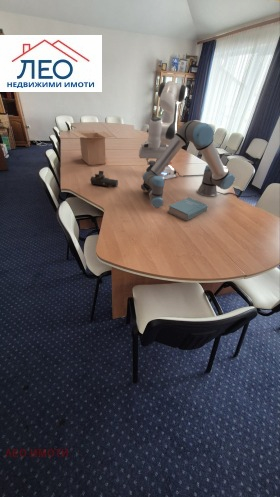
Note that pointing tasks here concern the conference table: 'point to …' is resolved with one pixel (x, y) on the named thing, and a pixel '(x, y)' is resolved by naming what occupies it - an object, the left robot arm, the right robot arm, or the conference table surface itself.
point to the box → (92, 146)
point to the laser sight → (103, 180)
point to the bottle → (148, 171)
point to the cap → (151, 162)
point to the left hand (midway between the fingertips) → (151, 164)
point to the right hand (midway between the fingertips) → (149, 182)
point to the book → (187, 208)
